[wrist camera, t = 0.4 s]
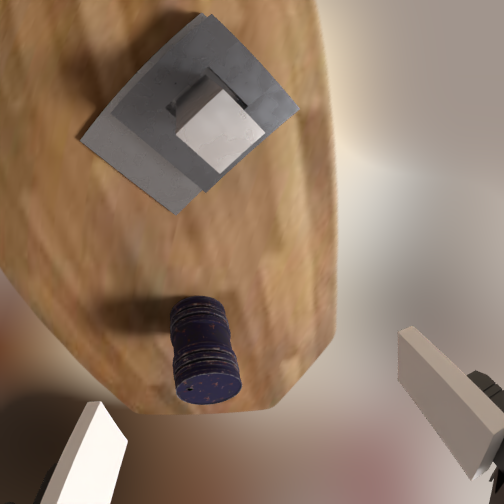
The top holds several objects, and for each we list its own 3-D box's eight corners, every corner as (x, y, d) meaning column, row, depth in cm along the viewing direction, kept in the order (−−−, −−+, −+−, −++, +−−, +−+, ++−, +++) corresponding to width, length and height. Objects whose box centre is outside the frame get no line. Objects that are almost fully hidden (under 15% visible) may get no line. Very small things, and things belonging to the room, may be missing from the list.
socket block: (82, 138, 32) (69, 151, 28) (201, 13, 26) (204, 7, 22) (176, 211, 41) (176, 232, 37) (290, 106, 35) (305, 115, 32)
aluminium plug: (176, 101, 31) (175, 134, 20) (204, 74, 30) (223, 89, 18) (203, 126, 34) (219, 173, 22) (231, 100, 33) (265, 132, 21)
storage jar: (233, 299, 53) (253, 373, 41) (216, 335, 58) (230, 405, 46) (175, 291, 49) (182, 370, 37) (164, 330, 54) (169, 403, 42)
